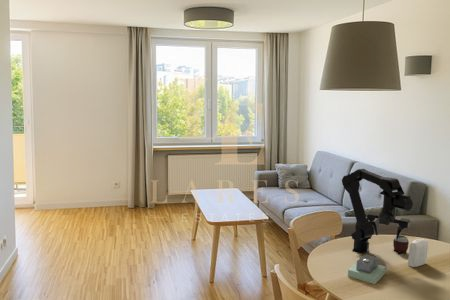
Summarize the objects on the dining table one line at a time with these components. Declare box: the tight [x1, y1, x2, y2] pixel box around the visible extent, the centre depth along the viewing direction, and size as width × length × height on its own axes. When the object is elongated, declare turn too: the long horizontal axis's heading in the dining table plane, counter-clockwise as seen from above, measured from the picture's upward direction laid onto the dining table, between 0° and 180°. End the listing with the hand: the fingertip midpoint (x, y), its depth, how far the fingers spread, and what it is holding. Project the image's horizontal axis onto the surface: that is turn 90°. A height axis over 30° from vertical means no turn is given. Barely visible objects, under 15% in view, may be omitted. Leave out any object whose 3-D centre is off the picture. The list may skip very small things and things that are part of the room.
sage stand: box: [347, 261, 387, 285], centre depth 194 cm, size 12×14×3 cm
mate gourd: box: [392, 223, 410, 255], centre depth 220 cm, size 8×8×15 cm
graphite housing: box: [356, 253, 380, 274], centre depth 193 cm, size 10×6×5 cm, turn 141°
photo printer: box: [407, 238, 429, 268], centre depth 205 cm, size 10×4×12 cm, turn 123°
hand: (386, 237), depth 207 cm, fingers open, 9 cm apart
